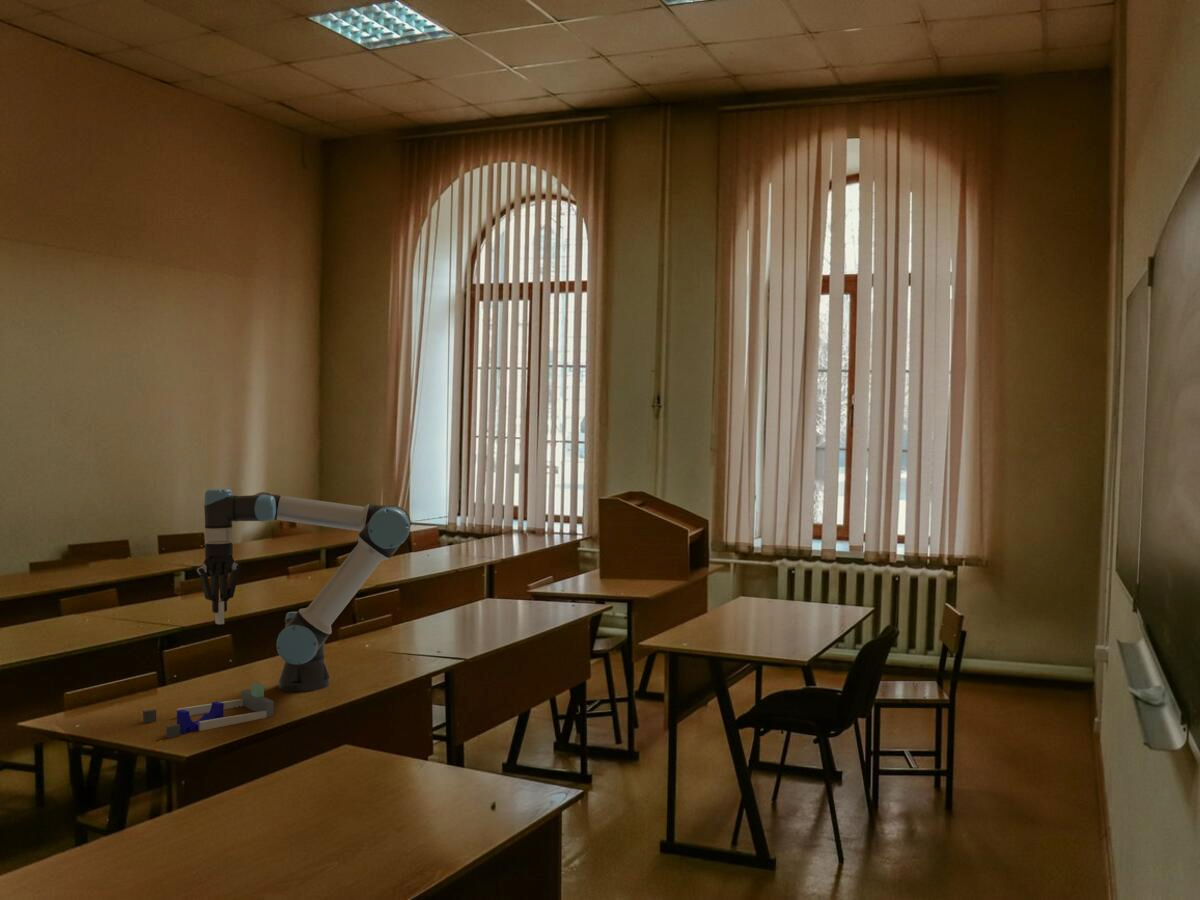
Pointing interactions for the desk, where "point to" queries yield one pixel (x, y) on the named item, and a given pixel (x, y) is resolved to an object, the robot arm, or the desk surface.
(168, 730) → the holster stops
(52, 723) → the desk surface
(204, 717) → the blue u-shaped block
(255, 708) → the port dock
